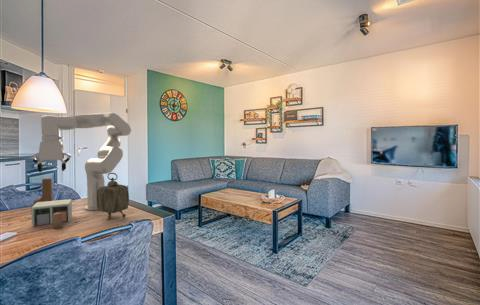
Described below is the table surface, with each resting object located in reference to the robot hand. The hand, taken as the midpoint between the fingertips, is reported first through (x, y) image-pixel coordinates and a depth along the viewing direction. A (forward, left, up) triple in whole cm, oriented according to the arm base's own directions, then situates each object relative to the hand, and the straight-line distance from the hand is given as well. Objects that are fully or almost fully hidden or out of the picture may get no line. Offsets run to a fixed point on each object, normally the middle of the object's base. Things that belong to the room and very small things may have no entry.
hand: (52, 171), depth 127 cm
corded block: (-4, +9, -26) cm, 28 cm away
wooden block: (+11, -39, -27) cm, 48 cm away
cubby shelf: (0, +1, -26) cm, 26 cm away
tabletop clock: (-27, +11, -27) cm, 40 cm away
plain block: (+4, +3, -27) cm, 27 cm away
